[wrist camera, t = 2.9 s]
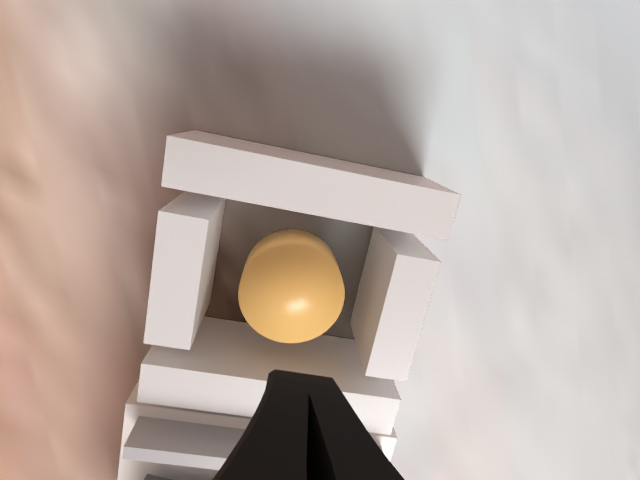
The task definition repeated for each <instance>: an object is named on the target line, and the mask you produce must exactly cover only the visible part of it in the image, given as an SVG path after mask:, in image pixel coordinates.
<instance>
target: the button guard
mask: <svg viewBox="0 0 640 480" xmlns="http://www.w3.org/2000/svg"><path fill="white" fill-rule="evenodd" d="M161 186H162V187H167V188H172V189H178V190H183V191H184V192H183V193H181V194H180V195H179V196H177V197H176V198H175V199H173V200H172V201H171V202H169V203H168V204H167V205H165V206H164V207H163V208H161V209H160V210H159V211H158V219H157V227H156V236H155V245H154V254H153V263H152V272H151V280H150V289H149V298H148V307H147V316H146V325H145V333H144V342H143V343H144V344H151V345H152V346H151V348H150V349H149V351H148V353H147V354H146V356H145V358H144V359H143V361H142V363H141V369H140V378H139V386H138V395H137V402H141V403H148V404H156V405H164V406H171V407H179V408H187V409H194V410H202V411H210V412H218V413H225V414H233V415H241V416H248V417H253V415H254V413H255V411H256V409H257V407H258V405H259V403H260V401H261V399H262V396H263V394H264V391H265V388H266V383H267V378H268V373H270V372H271V371H273V370H275V369H277V370H284V371H291V372H298V373H304V374H311V375H318V376H325V377H332V378H333V379H334V381H335V382H336V384H337V385H338V387H339V388H340V390H341V391H342V393H343V394H344V396H345V397H346V399H347V400H348V402H349V404H350V405H351V407H352V408H353V410H354V411H355V413H356V414H357V416H358V417H359V419H360V420H361V422H362V423H363V425H364V426H365V428H366V429H367V431H368V432H372V433H379V434H387V435H391V432H392V429H393V425H394V422H395V419H396V415H397V412H398V408H399V405H400V402H401V399H400V396H399V394H398V391H397V388H396V386H395V383H394V381H393V380H398V381H405V382H406V381H407V378H408V374H409V371H410V368H411V364H412V361H413V357H414V354H415V351H416V347H417V344H418V340H419V337H420V334H421V330H422V327H423V323H424V320H425V317H426V313H427V310H428V307H429V303H430V300H431V296H432V293H433V290H434V286H435V283H436V279H437V276H438V273H439V269H440V266H441V261H440V260H439V259H438V258H437V257H436V256H435V255H434V254H433V253H432V252H431V251H430V250H429V249H428V248H427V247H426V246H424V245H423V244H422V243H421V242H420V241H419V240H418V239H417V238H416V237H415V236H414V235H413V234H417V235H422V236H427V237H433V238H438V239H443V240H448V239H449V235H450V232H451V228H452V225H453V222H454V218H455V215H456V212H457V208H458V205H459V201H460V198H461V194H458V193H456V192H454V191H452V190H450V189H448V188H446V187H444V186H442V185H440V184H438V183H435V182H433V181H431V180H429V179H427V178H425V177H422V176H417V175H412V174H407V173H402V172H397V171H392V170H388V169H383V168H378V167H373V166H368V165H363V164H358V163H353V162H349V161H344V160H339V159H334V158H329V157H324V156H319V155H314V154H310V153H305V152H300V151H295V150H290V149H285V148H280V147H275V146H271V145H266V144H261V143H256V142H251V141H246V140H241V139H236V138H232V137H227V136H222V135H217V134H212V133H207V132H202V131H197V130H193V131H188V132H182V133H177V134H171V135H167V139H166V148H165V157H164V166H163V174H162V183H161ZM226 199H231V200H236V201H241V202H247V203H252V204H257V205H263V206H268V207H273V208H279V209H284V210H289V211H294V212H300V213H305V214H310V215H316V216H321V217H326V218H332V219H337V220H342V221H348V222H353V223H358V224H364V225H369V226H374V227H373V231H372V235H371V239H370V243H369V247H368V251H367V255H366V259H365V263H364V267H363V272H362V276H361V280H360V284H359V288H358V292H357V296H356V300H355V304H354V308H353V312H352V316H351V320H350V325H351V329H352V332H353V336H354V339H355V340H354V339H347V338H341V337H334V336H328V335H320V336H318V337H316V338H314V339H311V340H309V341H305V342H300V343H282V342H277V341H274V340H271V339H268V338H266V337H264V336H262V335H261V334H259V333H258V332H257V331H255V330H254V329H253V328H252V327H251V326H250V325H249V324H248V323H244V322H238V321H231V320H225V319H218V318H212V317H206V316H204V315H205V313H206V310H207V308H208V306H209V303H210V301H211V294H212V288H213V281H214V275H215V268H216V262H217V255H218V249H219V242H220V236H221V229H222V222H223V216H224V209H225V203H226Z"/></svg>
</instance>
